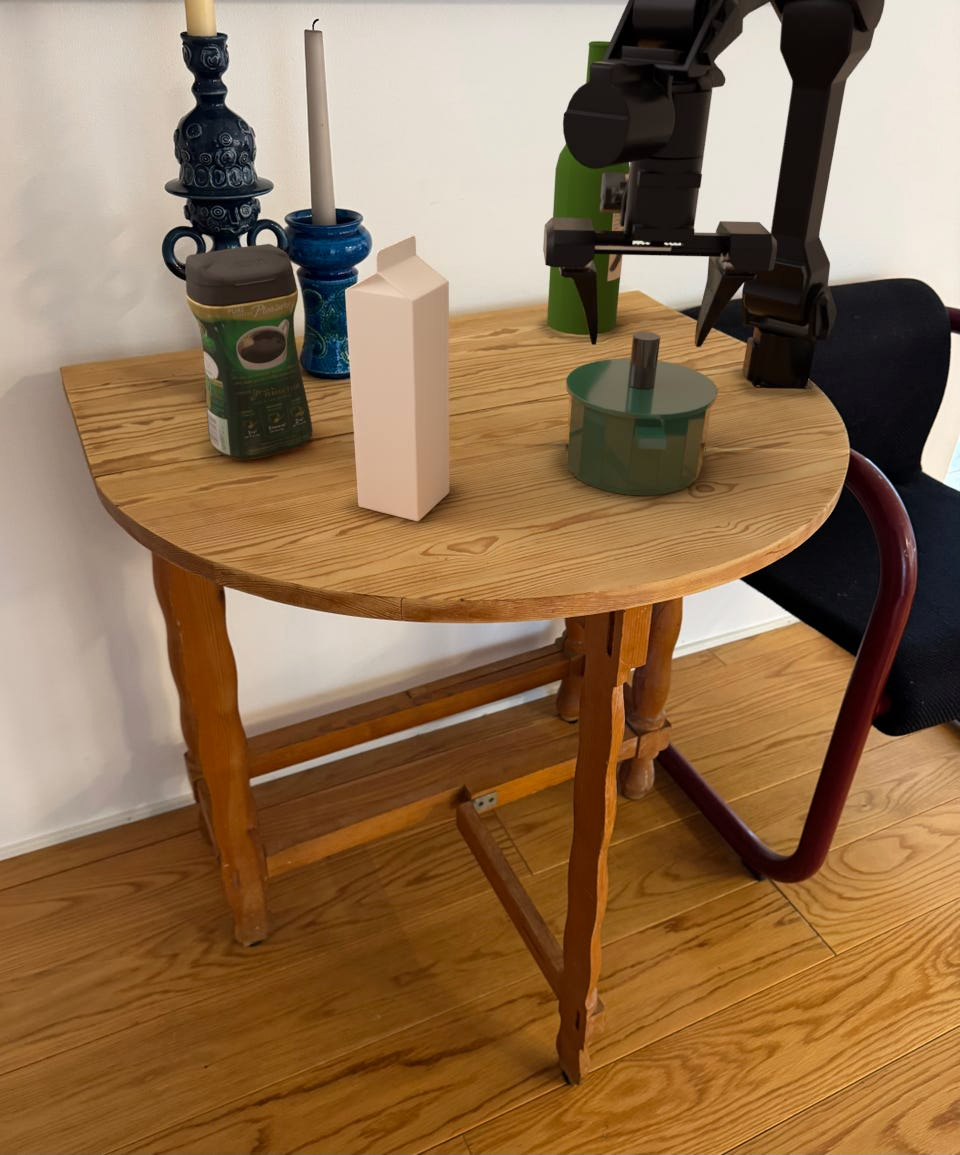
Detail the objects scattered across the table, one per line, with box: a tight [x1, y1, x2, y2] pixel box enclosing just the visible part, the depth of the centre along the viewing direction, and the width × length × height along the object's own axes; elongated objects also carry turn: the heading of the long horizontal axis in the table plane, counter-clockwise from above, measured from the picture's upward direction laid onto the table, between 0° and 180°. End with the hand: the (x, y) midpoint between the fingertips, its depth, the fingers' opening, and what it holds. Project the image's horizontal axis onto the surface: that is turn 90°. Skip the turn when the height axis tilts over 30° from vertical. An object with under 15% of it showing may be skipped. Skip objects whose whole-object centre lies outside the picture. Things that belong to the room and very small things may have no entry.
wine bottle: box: [546, 40, 630, 336], centre depth 115 cm, size 9×9×32 cm
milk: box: [344, 235, 450, 522], centre depth 78 cm, size 6×6×22 cm
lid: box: [565, 331, 718, 420], centre depth 85 cm, size 14×14×6 cm
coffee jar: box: [184, 243, 314, 461], centre depth 88 cm, size 10×8×19 cm
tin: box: [565, 395, 712, 497], centre depth 88 cm, size 13×18×8 cm
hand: (645, 344), depth 84 cm, fingers open, 9 cm apart
